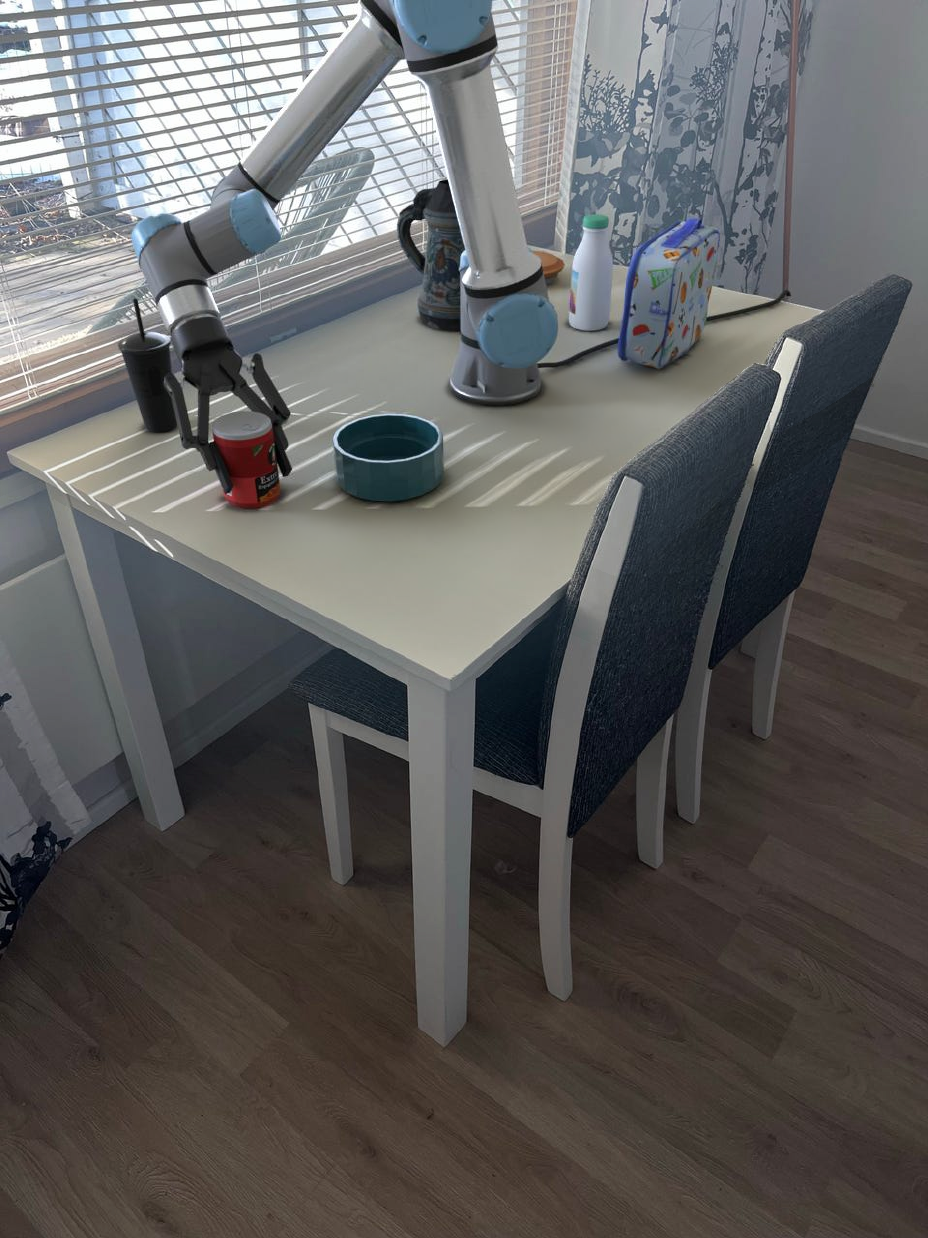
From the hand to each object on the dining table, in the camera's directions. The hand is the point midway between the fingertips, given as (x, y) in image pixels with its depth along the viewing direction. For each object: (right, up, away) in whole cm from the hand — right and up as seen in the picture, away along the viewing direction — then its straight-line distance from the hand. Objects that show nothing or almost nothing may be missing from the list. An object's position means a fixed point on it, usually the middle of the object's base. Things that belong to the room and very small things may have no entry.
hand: (258, 481), depth 130 cm
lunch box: (+64, +31, +47) cm, 85 cm away
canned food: (-2, -1, +5) cm, 5 cm away
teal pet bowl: (+17, +2, +8) cm, 19 cm away
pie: (+42, +55, +80) cm, 105 cm away
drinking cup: (-20, +12, +23) cm, 33 cm away
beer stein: (+25, +41, +61) cm, 78 cm away
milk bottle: (+52, +39, +58) cm, 87 cm away
